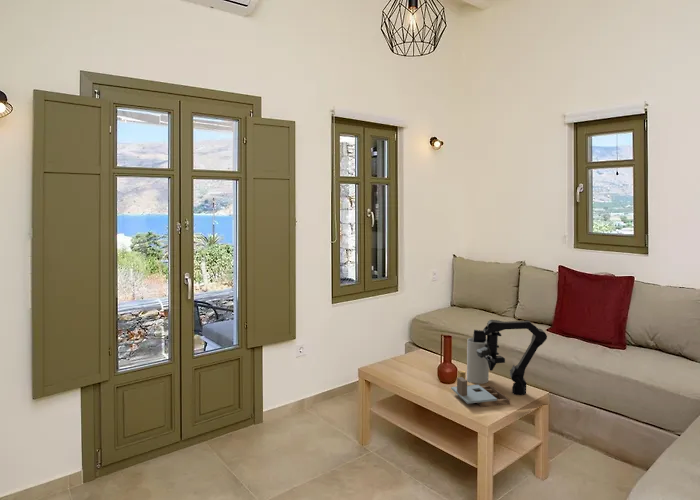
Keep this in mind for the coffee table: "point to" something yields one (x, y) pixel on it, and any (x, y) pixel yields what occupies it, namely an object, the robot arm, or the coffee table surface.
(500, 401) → the brown open tray
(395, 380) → the coffee table surface
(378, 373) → the coffee table surface
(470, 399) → the grey plate with hole
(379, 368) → the coffee table surface
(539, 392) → the coffee table surface
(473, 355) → the cylinder vase
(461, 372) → the golden wooden block
